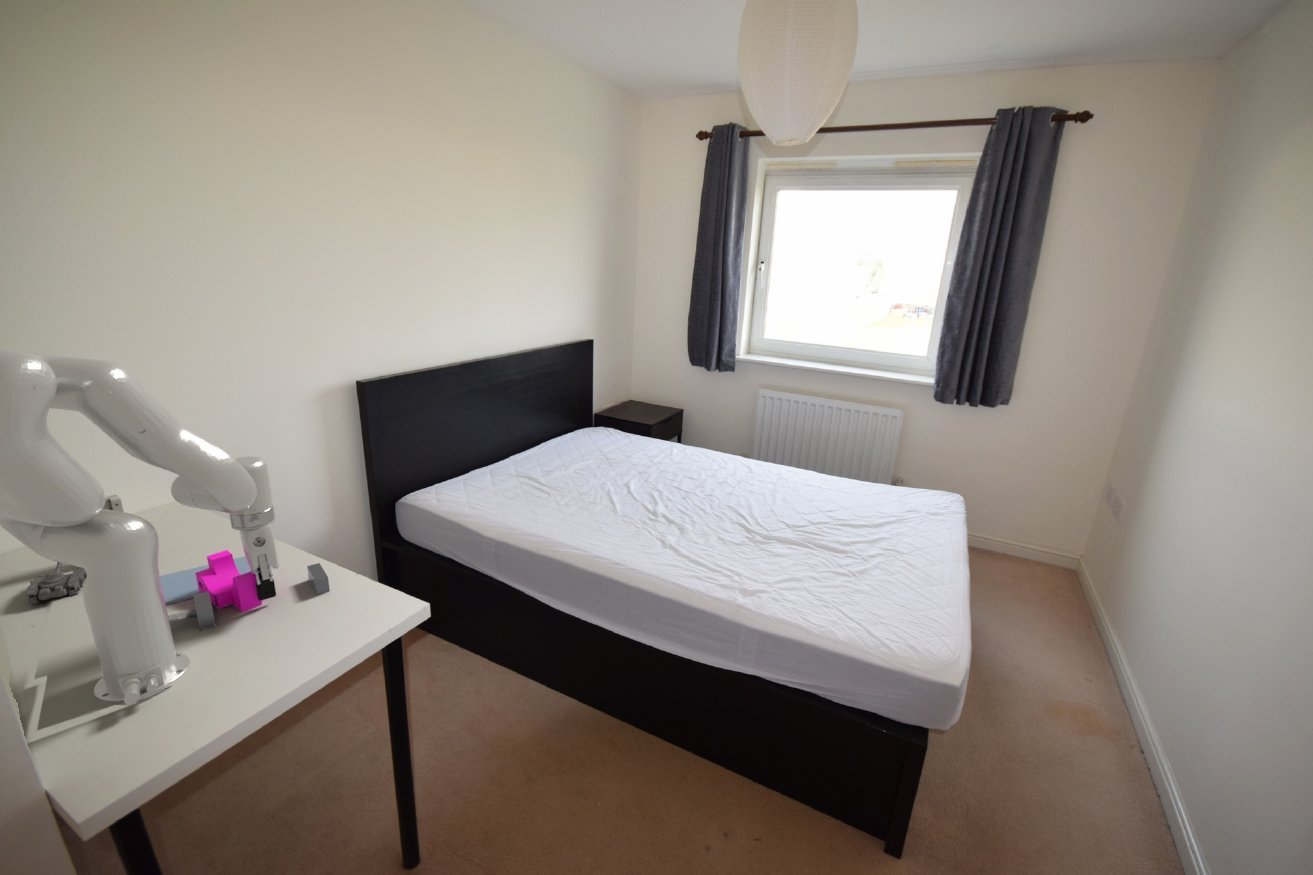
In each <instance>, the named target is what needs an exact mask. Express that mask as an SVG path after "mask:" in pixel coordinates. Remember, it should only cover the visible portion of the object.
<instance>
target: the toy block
mask: <svg viewBox="0 0 1313 875" xmlns="http://www.w3.org/2000/svg"><path fill="white" fill-rule="evenodd" d="M206 558H207V565H209V568H208V569H205V570H202V571H199V572H196V573H195V574H196V579H197V584H198V589H199V591H200V592H201V593H204V592H208V591H209V596H210V600H211V604H213V605H214V606H215V607H216V608H217V609H218V610H221V609H222V608H225V607H228V606H231V605H233V606H234V607H236V609H238V611H240V612H241V613H244V612H246V611H249V610H252V609H254V608H257V607H259V606H262V605H263V600H261V601H259V600H258V596H257V590H256V583H257V581H256V575H255V574H253V573H252V572H251V571H250V572H247V573H245V574H242V575H240V573H239V571H238V570H237V567H236V565H235V562H234V560H233V559H234V557H233V553H231V552H230V551H229V550H228V549H225V550H222V551H219V552H216V553H213V554H209V555H207V556H206Z"/></svg>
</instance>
